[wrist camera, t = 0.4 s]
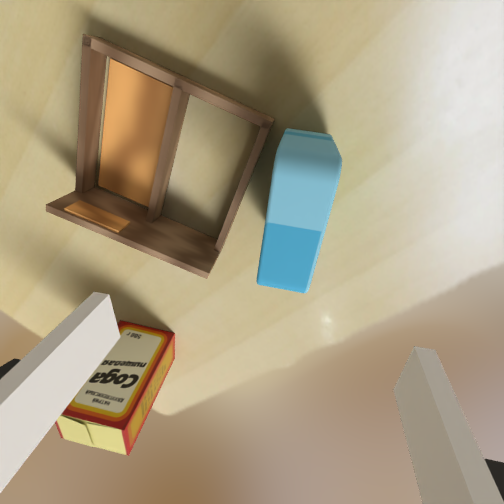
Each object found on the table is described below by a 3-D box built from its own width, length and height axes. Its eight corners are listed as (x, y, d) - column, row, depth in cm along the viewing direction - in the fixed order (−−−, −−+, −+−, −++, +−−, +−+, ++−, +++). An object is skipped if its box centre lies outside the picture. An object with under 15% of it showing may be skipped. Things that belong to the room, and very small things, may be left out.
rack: (88, 189, 36) (46, 211, 30) (100, 37, 28) (43, 25, 22) (222, 247, 37) (207, 278, 32) (274, 118, 29) (266, 129, 23)
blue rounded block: (286, 125, 29) (275, 150, 19) (331, 132, 29) (345, 160, 18) (269, 230, 35) (254, 291, 25) (306, 237, 35) (306, 301, 25)
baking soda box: (174, 333, 48) (122, 433, 34) (174, 358, 51) (127, 458, 38) (120, 320, 48) (48, 414, 35) (124, 346, 52) (59, 440, 38)
